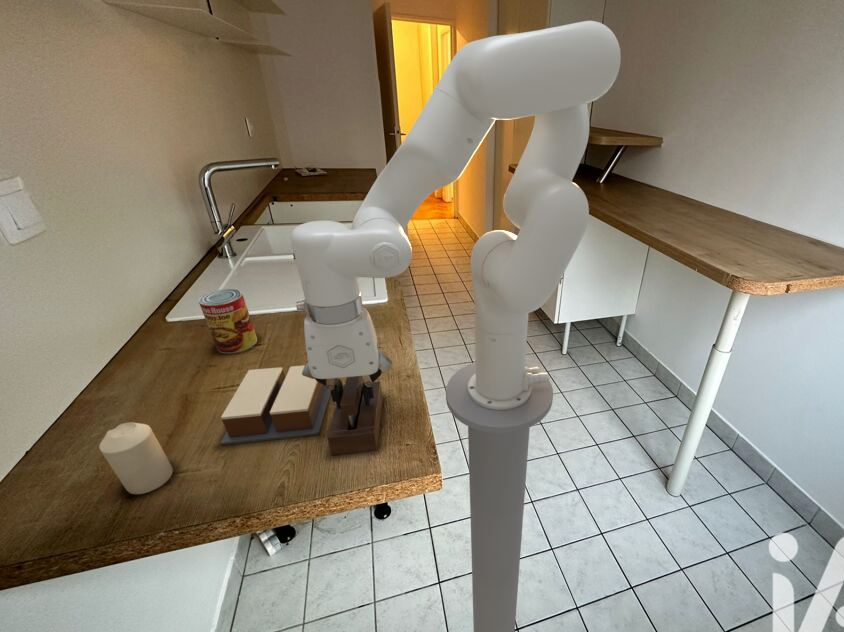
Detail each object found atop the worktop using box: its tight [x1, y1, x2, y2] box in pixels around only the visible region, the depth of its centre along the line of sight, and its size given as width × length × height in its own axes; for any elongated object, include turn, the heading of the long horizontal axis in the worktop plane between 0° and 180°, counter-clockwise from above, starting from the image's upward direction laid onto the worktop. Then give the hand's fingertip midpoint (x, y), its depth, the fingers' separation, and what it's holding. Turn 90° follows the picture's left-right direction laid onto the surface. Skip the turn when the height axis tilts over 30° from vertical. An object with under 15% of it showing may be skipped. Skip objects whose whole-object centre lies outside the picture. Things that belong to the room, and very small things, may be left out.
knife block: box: [327, 381, 384, 456], centre depth 72 cm, size 13×7×4 cm, turn 11°
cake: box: [220, 364, 331, 446], centre depth 74 cm, size 15×15×5 cm
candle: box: [98, 421, 174, 495], centre depth 59 cm, size 6×6×10 cm
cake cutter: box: [340, 376, 364, 430], centre depth 70 cm, size 10×2×9 cm, turn 11°
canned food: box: [198, 288, 258, 354], centre depth 90 cm, size 8×8×12 cm
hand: (355, 401), depth 70 cm, fingers open, 3 cm apart
